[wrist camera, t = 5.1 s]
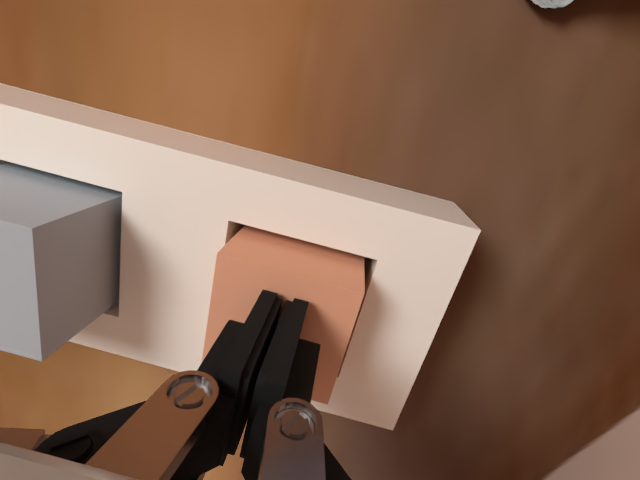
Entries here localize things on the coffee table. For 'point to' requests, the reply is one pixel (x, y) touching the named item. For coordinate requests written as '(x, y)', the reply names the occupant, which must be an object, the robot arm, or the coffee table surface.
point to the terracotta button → (290, 292)
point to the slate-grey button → (54, 258)
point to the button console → (227, 220)
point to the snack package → (552, 3)
